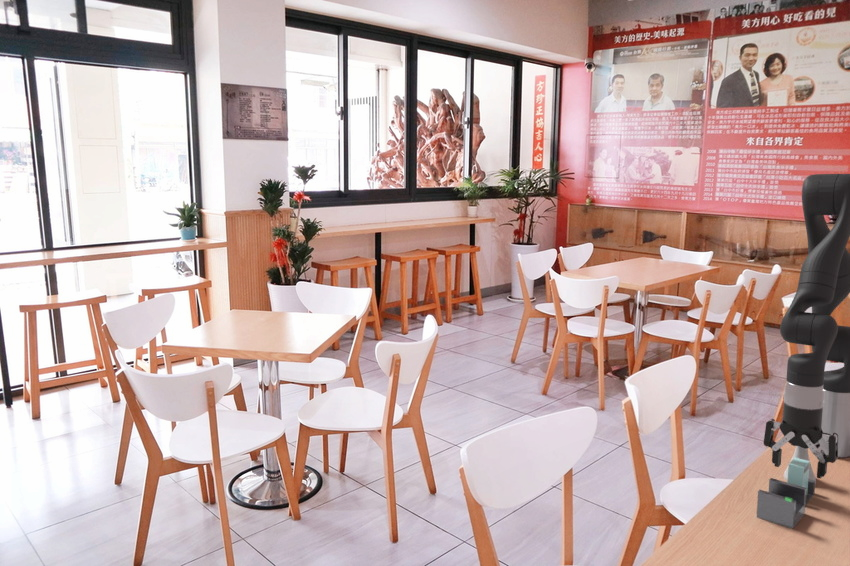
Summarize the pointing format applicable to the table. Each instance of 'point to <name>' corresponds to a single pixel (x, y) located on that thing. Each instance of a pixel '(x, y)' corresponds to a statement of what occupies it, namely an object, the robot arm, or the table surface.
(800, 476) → the plug
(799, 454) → the flask
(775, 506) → the port
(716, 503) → the table surface
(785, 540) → the table surface
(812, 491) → the grey ridged tray
